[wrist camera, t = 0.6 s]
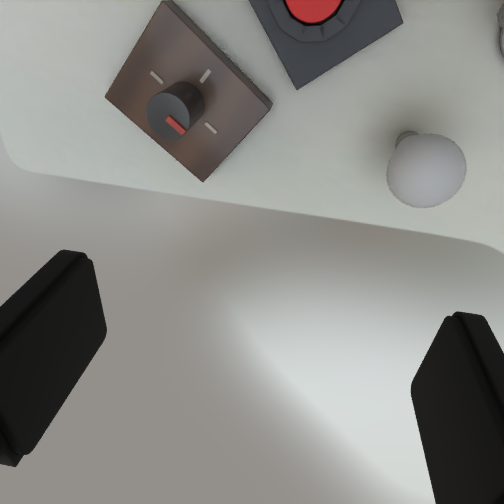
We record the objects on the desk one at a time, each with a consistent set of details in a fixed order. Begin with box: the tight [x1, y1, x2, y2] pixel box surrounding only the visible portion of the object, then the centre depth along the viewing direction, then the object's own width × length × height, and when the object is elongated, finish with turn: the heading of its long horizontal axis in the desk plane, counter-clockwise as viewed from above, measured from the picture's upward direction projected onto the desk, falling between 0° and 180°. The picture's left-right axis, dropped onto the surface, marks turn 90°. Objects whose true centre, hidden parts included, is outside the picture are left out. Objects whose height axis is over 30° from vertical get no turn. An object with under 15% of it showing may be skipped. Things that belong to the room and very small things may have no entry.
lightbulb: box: [386, 132, 466, 208], centre depth 33 cm, size 6×6×11 cm
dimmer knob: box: [146, 81, 204, 139], centre depth 34 cm, size 4×4×5 cm
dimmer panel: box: [105, 0, 273, 182], centre depth 37 cm, size 13×11×3 cm
